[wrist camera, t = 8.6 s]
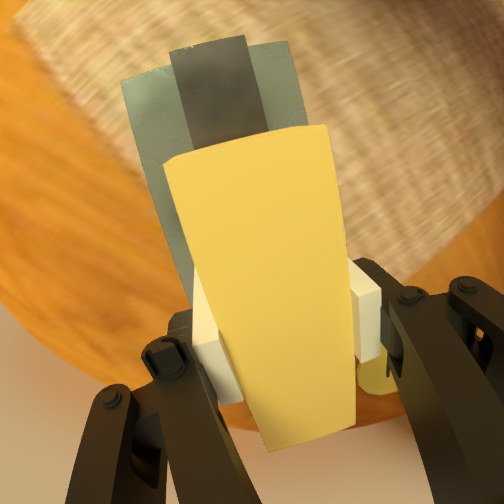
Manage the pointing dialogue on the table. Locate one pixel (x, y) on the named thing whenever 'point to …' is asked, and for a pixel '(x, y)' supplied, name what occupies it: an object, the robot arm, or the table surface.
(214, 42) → the rail
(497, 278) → the table surface
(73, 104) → the table surface
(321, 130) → the yellow arch-shaped block
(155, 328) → the table surface
